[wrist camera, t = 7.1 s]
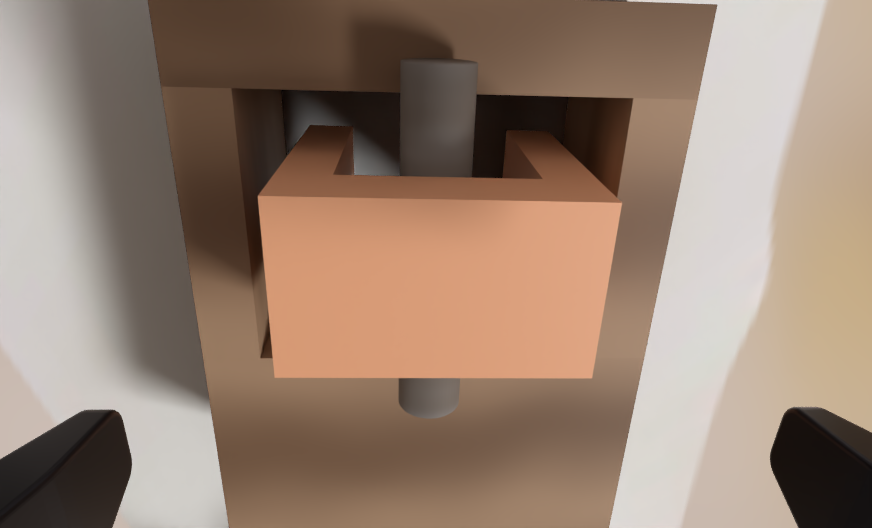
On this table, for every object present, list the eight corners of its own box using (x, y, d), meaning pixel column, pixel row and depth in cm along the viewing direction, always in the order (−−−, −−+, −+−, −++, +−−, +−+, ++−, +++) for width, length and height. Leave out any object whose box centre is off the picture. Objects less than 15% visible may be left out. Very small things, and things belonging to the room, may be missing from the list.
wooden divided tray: (564, 427, 24) (622, 583, 18) (268, 429, 24) (217, 593, 17) (629, 1, 18) (757, 5, 11) (221, -12, 17) (109, -17, 11)
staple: (547, 131, 17) (622, 202, 11) (533, 257, 19) (591, 378, 13) (310, 124, 17) (257, 196, 11) (317, 254, 18) (274, 377, 13)
